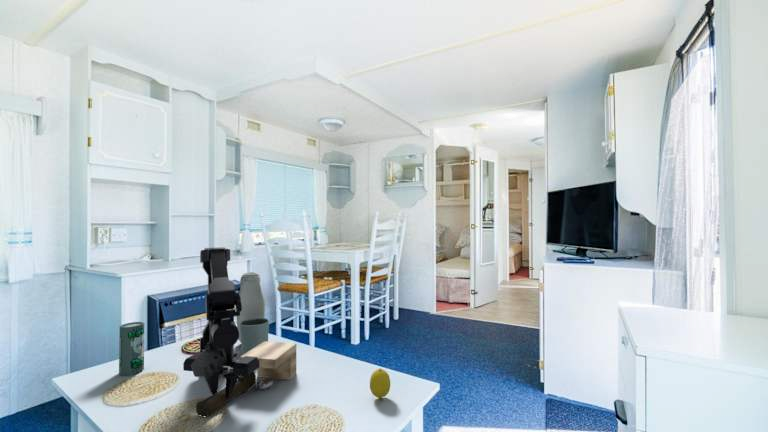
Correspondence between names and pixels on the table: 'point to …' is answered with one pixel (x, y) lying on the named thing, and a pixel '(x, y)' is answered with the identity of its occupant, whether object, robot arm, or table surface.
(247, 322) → the grey green cup
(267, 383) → the steel token
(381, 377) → the lemon
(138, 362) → the can
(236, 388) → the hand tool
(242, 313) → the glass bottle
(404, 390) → the table surface
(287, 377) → the beige wooden box
